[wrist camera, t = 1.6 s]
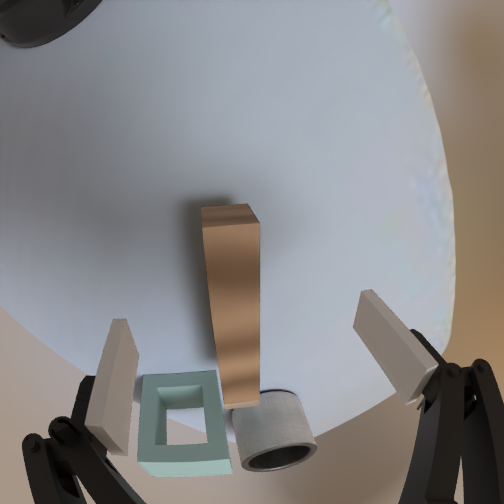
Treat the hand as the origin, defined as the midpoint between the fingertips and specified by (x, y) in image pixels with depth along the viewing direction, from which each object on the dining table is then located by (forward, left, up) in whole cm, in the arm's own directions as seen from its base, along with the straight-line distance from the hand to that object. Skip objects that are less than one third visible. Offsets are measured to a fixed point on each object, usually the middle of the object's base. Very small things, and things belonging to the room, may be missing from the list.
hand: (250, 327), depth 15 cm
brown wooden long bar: (+8, 0, -12) cm, 14 cm away
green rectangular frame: (+25, -8, -16) cm, 30 cm away
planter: (+35, +5, -16) cm, 39 cm away
